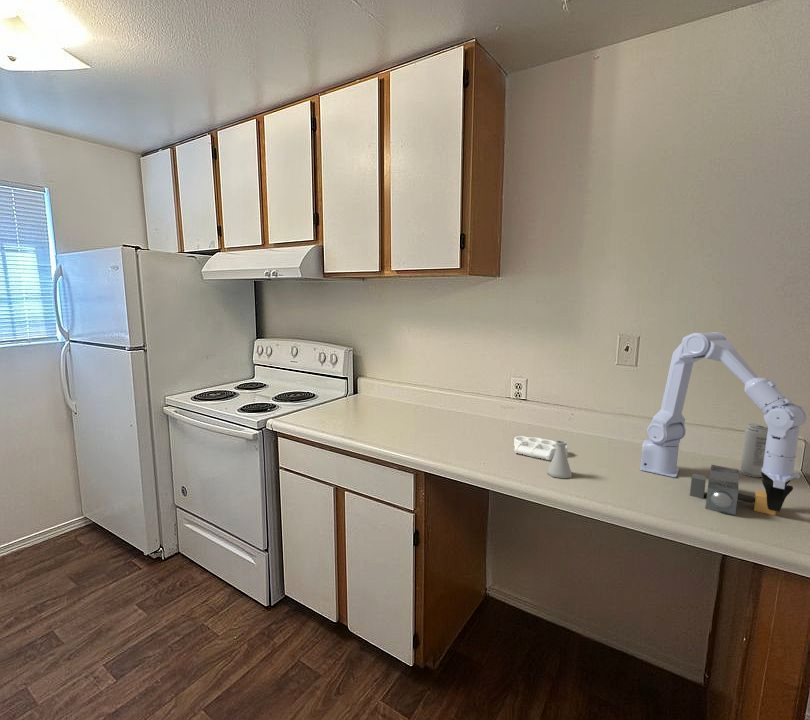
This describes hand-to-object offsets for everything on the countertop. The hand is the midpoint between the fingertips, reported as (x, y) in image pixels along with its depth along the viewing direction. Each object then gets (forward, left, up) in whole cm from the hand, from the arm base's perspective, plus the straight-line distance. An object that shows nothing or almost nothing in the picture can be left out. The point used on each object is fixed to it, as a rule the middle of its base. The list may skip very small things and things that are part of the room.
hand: (772, 506), depth 109 cm
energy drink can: (-3, +27, -2) cm, 27 cm away
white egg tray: (-61, +6, -2) cm, 62 cm away
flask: (-49, -9, -2) cm, 50 cm away
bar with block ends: (-8, 0, -1) cm, 8 cm away
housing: (-10, 0, -1) cm, 10 cm away
